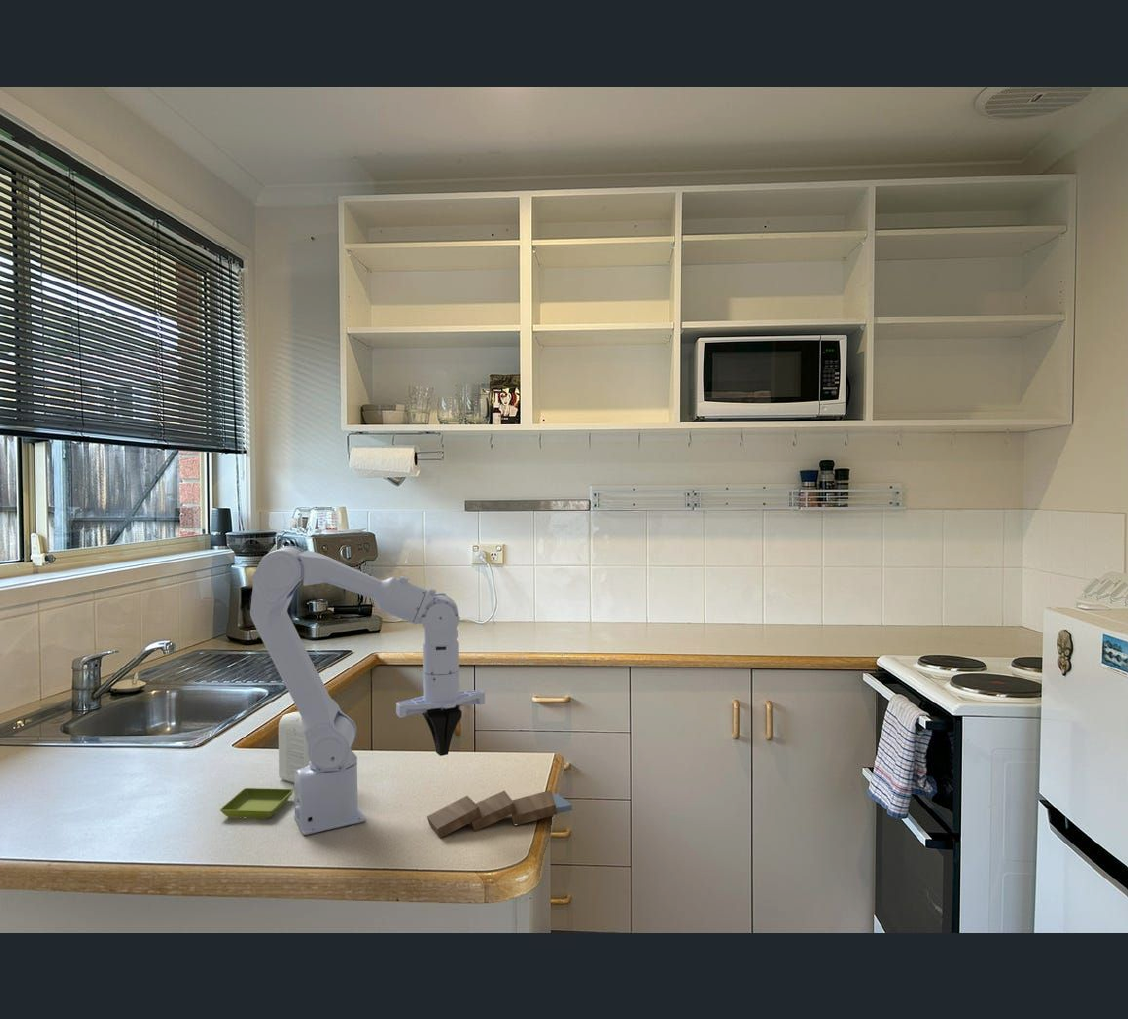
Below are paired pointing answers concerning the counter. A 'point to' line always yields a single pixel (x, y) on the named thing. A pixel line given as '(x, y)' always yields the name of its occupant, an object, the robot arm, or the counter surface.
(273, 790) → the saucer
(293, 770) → the white rounded tombstone
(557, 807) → the end domino
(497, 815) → the domino
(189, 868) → the counter surface
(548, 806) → the domino
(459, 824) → the domino
